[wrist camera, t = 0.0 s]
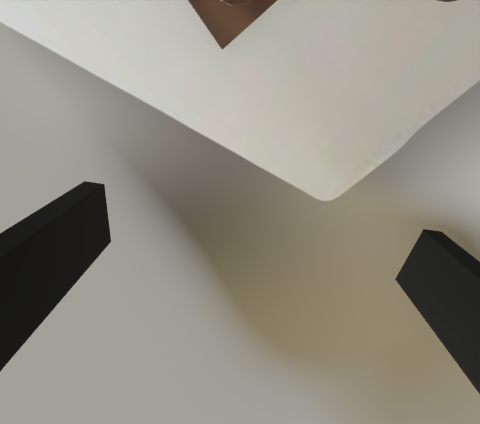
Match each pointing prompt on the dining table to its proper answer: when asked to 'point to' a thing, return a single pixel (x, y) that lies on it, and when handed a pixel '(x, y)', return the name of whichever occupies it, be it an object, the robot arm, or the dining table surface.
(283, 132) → the dining table surface
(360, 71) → the dining table surface
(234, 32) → the button block
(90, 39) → the dining table surface
